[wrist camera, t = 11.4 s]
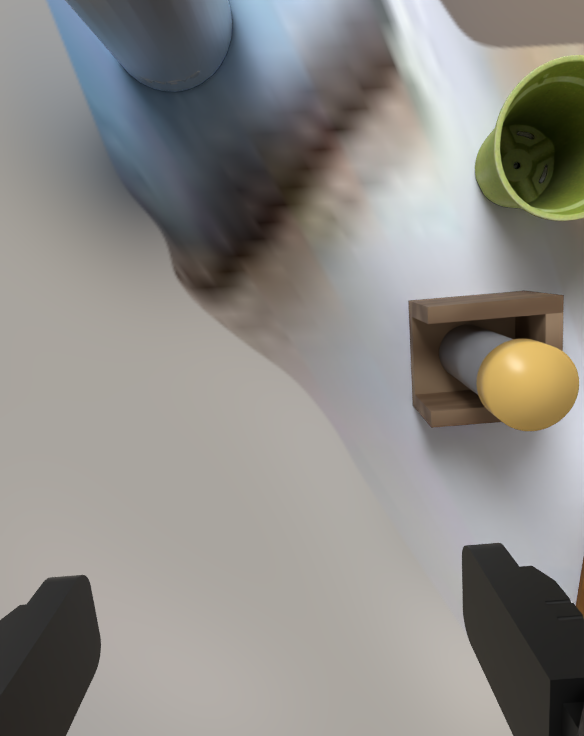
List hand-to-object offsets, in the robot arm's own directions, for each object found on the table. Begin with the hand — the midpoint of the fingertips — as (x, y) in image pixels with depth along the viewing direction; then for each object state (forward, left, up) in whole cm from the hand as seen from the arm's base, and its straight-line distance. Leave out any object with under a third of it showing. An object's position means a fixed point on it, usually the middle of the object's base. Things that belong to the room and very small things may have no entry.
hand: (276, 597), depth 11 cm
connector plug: (+1, +14, -31) cm, 34 cm away
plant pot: (-13, +18, -32) cm, 39 cm away
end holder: (+1, +14, -32) cm, 35 cm away
